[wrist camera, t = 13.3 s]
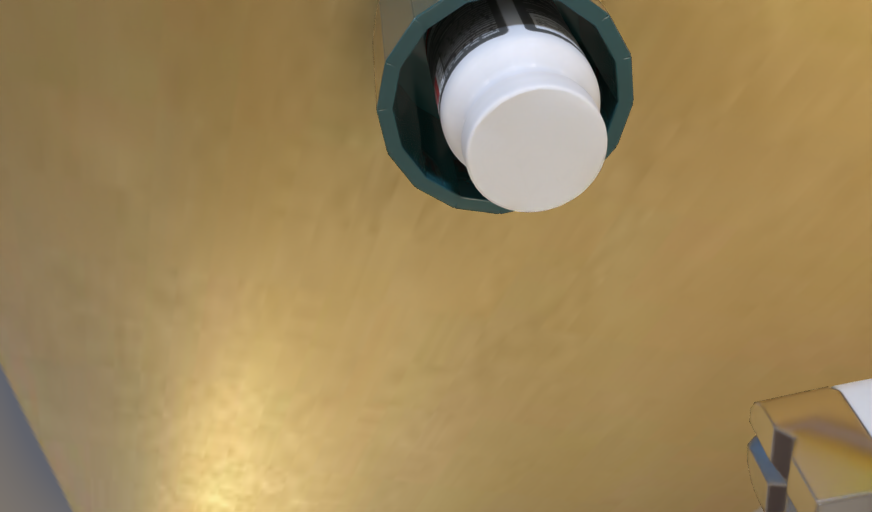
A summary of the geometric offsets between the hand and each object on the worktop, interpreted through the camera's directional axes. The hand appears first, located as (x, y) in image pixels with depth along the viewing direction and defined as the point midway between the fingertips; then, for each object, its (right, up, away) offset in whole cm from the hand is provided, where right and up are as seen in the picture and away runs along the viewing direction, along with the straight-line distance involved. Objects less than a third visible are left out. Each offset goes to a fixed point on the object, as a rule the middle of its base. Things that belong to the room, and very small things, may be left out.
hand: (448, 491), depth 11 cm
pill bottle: (+2, +12, +24) cm, 27 cm away
